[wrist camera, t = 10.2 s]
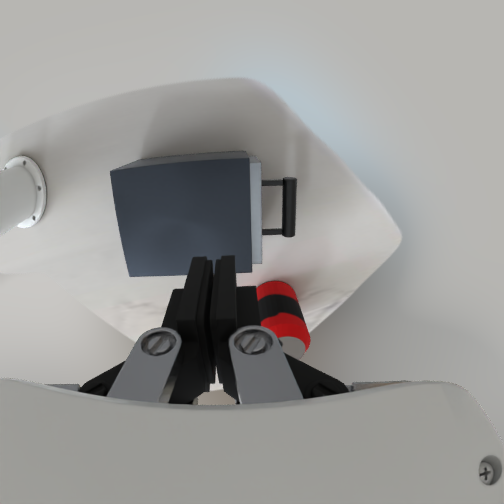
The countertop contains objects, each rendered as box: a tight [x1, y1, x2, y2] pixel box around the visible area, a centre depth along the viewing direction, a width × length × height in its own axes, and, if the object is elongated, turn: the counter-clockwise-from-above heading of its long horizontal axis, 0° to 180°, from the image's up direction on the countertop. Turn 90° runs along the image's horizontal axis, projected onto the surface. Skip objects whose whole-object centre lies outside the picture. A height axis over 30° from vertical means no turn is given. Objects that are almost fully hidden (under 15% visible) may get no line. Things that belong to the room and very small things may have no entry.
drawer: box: [248, 156, 297, 264], centre depth 32 cm, size 18×11×8 cm, turn 91°
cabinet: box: [110, 151, 252, 277], centre depth 32 cm, size 15×13×10 cm
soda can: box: [256, 281, 310, 360], centre depth 39 cm, size 8×8×12 cm
